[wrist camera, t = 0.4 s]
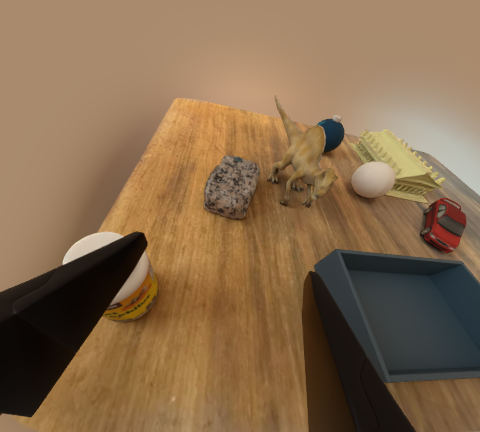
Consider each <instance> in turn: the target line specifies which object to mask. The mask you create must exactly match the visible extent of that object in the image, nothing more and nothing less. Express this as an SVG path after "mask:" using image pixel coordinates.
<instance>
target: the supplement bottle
mask: <svg viewBox="0 0 480 432" xmlns="http://www.w3.org/2000/svg"><path fill="white" fill-rule="evenodd" d="M122 237H124V236H122V235H120V234H118V233H114V232H100V233H95V234H92V235H89V236H87V237H85V238H83V239H81V240H79V241H78V242H77V243H75V244H74V245H73V246H72V247H71V248H70V249H69V250H68V252H67V253H66V255H65V257H64V261H63V265H64V264H66V263H68V262H71V261H73V260H75V259H77V258H79V257H81V256H84V255H86V254H88V253H90V252H92V251H94V250H97V249H99V248H101V247H103V246H105V245H107V244H110V243H112V242H114V241H116V240H118V239H120V238H122ZM157 295H158V282H157V279H156V277H155V274H154V271H153V268H152V266H151V263H150V261H149V258H148V255H147V253H146V251H144V253H143V255H142V256H141V258H140V260H139V262H138V264H137V265H136V267H135V269H134V271H133V272H132V274H131V275H130V277H129V278H128V279H127V281H126V282H125V284H124V285H123V287H122V288H121V290H120V291H119V292H118V294H117V295H116V297H115V298H114V300H113V301H112V303H111V304H110V305H109V307H108V308H107V310H106V311H105V313H104V314H103V316H104V317H106V318H108V319H110V320H112V321H115V322H129V321H132V320H135V319H137V318H139V317H141V316H142V315H144V314H145V313H146V312H147V311H148V310H149V309H150V308H151V307H152V305H153V304H154V302H155V300H156V298H157Z"/></svg>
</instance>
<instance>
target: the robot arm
mask: <svg viewBox="0 0 480 432" xmlns="http://www.w3.org/2000/svg"><path fill="white" fill-rule="evenodd" d="M147 244H148V243H147V240H146V237H145V235H144V233H142V232H137V231H136V232H133V233H131V234H129V235H127V236H125V237H122V238H120V239H118V240H116V241H114V242H112V243H110V244H107V245H105V246H103V247H101V248H99V249H97V250H94V251H92V252H90V253H88V254H86V255H84V256H81V257H79V258H77V259H75V260H73V261H71V262H68V263H66V264H64V265H62V266H60V267H58V268H56V269H53V270H51V271H49V272H47V273H44V274H42V275H40V276H38V277H36V278H33V279H31V280H29V281H26V282H24V283H21V284H19V285H17V286H14V287H12V288H9V289H7V290H5V291H2V292H0V415H1V414H2V413H4V414H11V415H18V416H26V417H32V416H33V415H34V413H35V412H36V411H37V409H38V408H39V407H40V405H41V404H42V402H43V401H44V399H45V398H46V397H47V395H48V394H49V392H50V391H51V389H52V388H53V386H54V385H55V384H56V382H57V381H58V379H59V378H60V376H61V375H62V373H63V372H64V371H65V369H66V368H67V366H68V365H69V363H70V362H71V360H72V359H73V358H74V356H75V355H76V353H77V352H78V350H79V349H80V347H81V346H82V344H83V343H84V341H85V340H86V339H87V337H88V336H89V334H90V333H91V331H92V330H93V329H94V327H95V326H96V324H97V323H98V321H99V320H100V318H101V317H102V316H103V314H104V313H105V311H106V310H107V308H108V307H109V305H110V304H111V303H112V301H113V300H114V298H115V297H116V295H117V294H118V292H119V291H120V290H121V288H122V287H123V285H124V284H125V282H126V281H127V279H128V278H129V277H130V275H131V274H132V272H133V271H134V269H135V267H136V265H137V264H138V262H139V260H140V258H141V256H142V255H143V253H144V251H145V249H146V247H147ZM302 324H303V341H304V358H305V374H306V391H307V408H308V425H309V432H416V431H415V429H414V428H413V426H412V425H411V423H410V422H409V420H408V419H407V418H406V416H405V415H404V413H403V412H402V410H401V409H400V407H399V406H398V404H397V403H396V401H395V400H394V398H393V397H392V395H391V394H390V392H389V391H388V389H387V388H386V386H385V384H384V383H383V381H382V379H381V378H380V376H379V375H378V373H377V371H376V370H375V368H374V366H373V365H372V363H371V361H370V359H369V358H368V357H366V356H367V355H366V353H365V351H364V349H363V348H362V346H361V344H360V343H359V341H358V339H357V338H356V336H355V334H354V332H353V331H352V329H351V327H350V326H349V324H348V322H347V321H346V319H345V317H344V315H343V314H342V312H341V310H340V309H339V307H338V305H337V304H336V302H335V300H334V298H333V297H332V295H331V293H330V292H329V290H328V288H327V287H326V285H325V283H324V281H323V280H322V278H321V276H320V275H319V274H318V273H316V272H312V271H310V272H309V273H308V275H307V277H306V279H305V281H304V289H303V307H302Z"/></svg>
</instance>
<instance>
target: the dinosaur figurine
mask: <svg viewBox="0 0 480 432" xmlns="http://www.w3.org/2000/svg"><path fill="white" fill-rule="evenodd" d="M275 101H276V105H277V108H278V111H279V113H280V115H281V118H282V120H283V123H284V126H285V128H286V132H287V136H288V139H289V148H288V150H287V151H286V153H285V154H284V156H283V159H282V161H281V162H280V161H279V162H275V163H274V165H273V168H272V171H271V173H270V175H269V177H268V181H270V180H271V179H272V182H273V184H274V182H275V181H276V182H277V183H278V178H277V173H278V169H280V170H284V169H285V167H287V166H288V165H290V164H292V166H293V168H294V171H295V172H294V174H293V175H292V176H291V177H290V179H289V180H288V181H287V185H286V195H285V197H284V198H283V200H282V202H280V203H283V204H285V205H286V206H287V205H289V203H290V192H291V187H292V183H293V189H294V190H295V187H296V188H297V190H298V192H300V189H301V190H302V191H303V187H302V186H301V184H300V183H299V178H300V179H301V181H302V182H304V183H306V184H307V193H308V196H307V198H306V199H305V201H304V202H303V205H304V204H305V203H306V205H305V207H308V208H309V207H310V206H311V205H312V202H313V200H318V199H319V198H321V197H323V196H324V195H325V193H326V192H327V191H328V190H330V189H331V188H332V186H333V182H334V181H335V180H336V179H337V178H338V177H337V176H336V175H335V174H334V170H333V169H331V168H329V169H324V170H323V169H321V168H320V167H319V162H320V159H321V155H322V153H323V151H324V147H325V143H326V141H325V140H326V136H325V131H324V129H323V127H322V126H320V125H317V126H313V127H312V128H310V129H309V130H308V131H306V132H304V133H303V132H302V131H300V130H299V129H298V128H297V127H296V126H295V124H294V123H293V121H292V120H291V119H290V118H289V117H288V115H287V114H286V113H285V111H284V110H283V108H282V107H281V105H280V104H279V102H278V99H277V97H276V95H275ZM312 185H314V186H315V188H314V193H313V188H312ZM308 204H309V205H308Z"/></svg>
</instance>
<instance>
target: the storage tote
mask: <svg viewBox="0 0 480 432" xmlns="http://www.w3.org/2000/svg"><path fill="white" fill-rule="evenodd" d="M314 267H315V271H316V273H318V274H319V275H320V276H321V278H322V280H323V281H324V283H325V285H326V287H327V288H328V290H329V292H330V293H331V295H332V297H333V298H334V300H335V302H336V304H337V305H338V307H339V309H340V310H341V312H342V314H343V315H344V317H345V319H346V321H347V322H348V324H349V326H350V327H351V329H352V331H353V332H354V334H355V336H356V338H357V339H358V341H359V343H360V344H361V346H362V348H363V349H364V351H365V353H366V355H367V356H366V357H368V358H369V359H370V361H371V363H372V365H373V366H374V368H375V370H376V371H377V373H378V375H379V376H380V378H381V379H382V381H383V382H386V383H392V382H410V381H428V380H447V379H465V378H480V283H479V281H478V280H477V279H476V278H475V277H474V275H473V274H472V273H471V272H470V271H469V269H468V268H467V267H466V266H465V265H464V263H463V262H462V261H452V260H442V259H432V258H422V257H411V256H401V255H391V254H381V253H371V252H361V251H351V250H340V249H335V250H334V251H333V252H331V253H330V254H329V255H327V256H326V257H325V258H324V259H322V260H321V261H320V262H318V263H317V264H316V265H314Z"/></svg>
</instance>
